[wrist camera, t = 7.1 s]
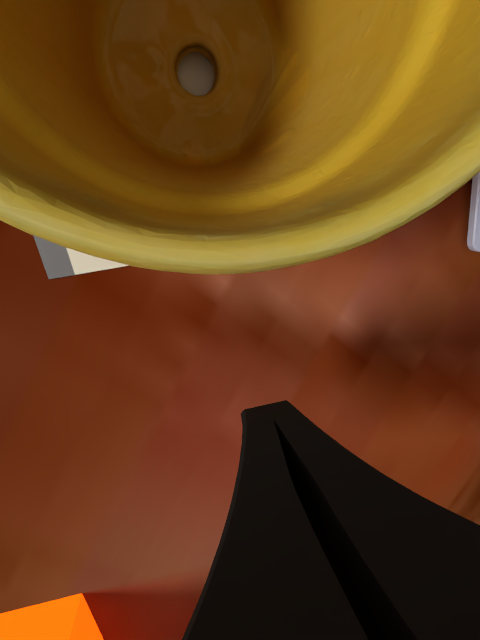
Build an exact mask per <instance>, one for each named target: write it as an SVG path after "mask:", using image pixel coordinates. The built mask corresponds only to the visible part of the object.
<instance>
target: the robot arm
mask: <svg viewBox="0 0 480 640" xmlns="http://www.w3.org/2000/svg"><path fill="white" fill-rule="evenodd" d="M467 246H468V248H469V249H470V250H472V251H477V252H480V172H479V173H478V174H476V175H475V176H474V177H473V180H472V191H471V202H470V214H469V225H468V236H467ZM241 418H242V425H243V433H242V446H241V454H240V462H239V468H238V473H237V478H236V483H235V488H234V492H233V497H232V501H231V505H230V509H229V513H228V516H227V520H226V523H225V527H224V530H223V533H222V537H221V540H220V543H219V546H218V549H217V552H216V555H215V557H214V560H213V563H212V566H211V569H210V572H209V575H208V577H207V580H206V583H205V585H204V588H203V591H202V593H201V596H200V598H199V601H198V603H197V605H196V608H195V610H194V613H193V615H192V617H191V620H190V622H189V624H188V627H187V629H186V632H185V634H184V636H183V639H182V640H480V525H478V524H476V523H474V522H472V521H470V520H468V519H466V518H464V517H461V516H459V515H457V514H455V513H453V512H451V511H449V510H447V509H445V508H443V507H441V506H439V505H437V504H435V503H433V502H431V501H430V500H428V499H426V498H424V497H422V496H420V495H418V494H417V493H415V492H413V491H411V490H410V489H408V488H406V487H404V486H403V485H401V484H399V483H397V482H396V481H394V480H392V479H391V478H389V477H387V476H386V475H384V474H382V473H381V472H379V471H378V470H376V469H375V468H373V467H372V466H370V465H369V464H367V463H366V462H364V461H363V460H361V459H360V458H358V457H357V456H356V455H354V454H353V453H351V452H350V451H349V450H347V449H346V448H344V447H343V446H342V445H340V444H339V443H338V442H336V441H335V440H334V439H333V438H331V437H330V436H329V435H327V434H326V433H325V432H323V431H322V430H321V429H320V428H318V427H317V426H316V425H315V424H314V423H312V422H311V421H310V420H309V419H308V418H307V417H305V416H304V415H303V414H302V413H301V412H300V411H299V410H297V409H296V408H295V407H294V406H293V405H292V404H291V403H289V402H288V401H286V400H285V401H281V402H276V403H272V404H267V405H263V406H258V407H254V408H249V409H245V410H244V411H243V412H242V413H241Z"/></svg>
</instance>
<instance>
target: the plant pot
mask: <svg viewBox="0 0 480 640" xmlns="http://www.w3.org/2000/svg"><path fill="white" fill-rule="evenodd" d="M192 52H198V53H201V54H203V55H205V56H206V57H207V58H208V59H209V60H210V62H211V63H212V66H213V68H214V83H213V86H212V88H211V89H210V91H209V92H208V93H206V94H205V95H200V96H196V95H193V94H191V93H189V92H188V91H187V90H185V89H184V88H183V87H182V86H181V84H180V82H179V79H178V74H177V73H178V66H179V64H180V62H181V60H182V59H183V58H184V56H186V55H187V54H189V53H192ZM479 172H480V0H0V220H1V221H3V222H5V223H7V224H10V225H12V226H14V227H16V228H18V229H20V230H22V231H24V232H27V233H29V234H32V235H34V236H37V237H40V238H42V239H45V240H47V241H50V242H53V243H55V244H58V245H60V246H63V247H66V248H69V249H72V250H75V251H78V252H82V253H85V254H88V255H91V256H94V257H98V258H102V259H106V260H110V261H114V262H118V263H122V264H126V265H130V266H135V267H141V268H147V269H153V270H160V271H170V272H181V273H193V274H238V273H251V272H262V271H268V270H274V269H279V268H285V267H291V266H296V265H300V264H304V263H308V262H311V261H315V260H319V259H323V258H327V257H331V256H333V255H336V254H339V253H342V252H345V251H348V250H350V249H353V248H355V247H358V246H361V245H363V244H366V243H368V242H371V241H374V240H376V239H378V238H380V237H381V236H383V235H385V234H387V233H389V232H391V231H393V230H395V229H397V228H399V227H401V226H403V225H404V224H406V223H408V222H410V221H411V220H413V219H415V218H416V217H418V216H420V215H421V214H423V213H425V212H426V211H428V210H430V209H431V208H433V207H435V206H436V205H438V204H439V203H440V202H442V201H443V200H444V199H446V198H447V197H448V196H450V195H451V194H452V193H454V192H455V191H457V190H458V189H459V188H461V187H462V186H463V185H464V184H466V183H467V182H468V181H469V180H470V179H472V178H473V177H474V176H475V175H476V174H478V173H479Z"/></svg>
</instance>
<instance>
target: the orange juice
mask: <svg viewBox="0 0 480 640" xmlns="http://www.w3.org/2000/svg"><path fill="white" fill-rule="evenodd" d="M0 640H104V639H103V637H102V635H101V633H100V631H99V629H98V626H97V624H96V622H95V620H94V618H93V616H92V613H91V611H90V609H89V607H88V605H87V603H86V601H85V598H84V596H83V594H82V593H81V594H77V595H73V596H69V597H65V598H61V599H57V600H53V601H49V602H45V603H41V604H37V605H33V606H29V607H25V608H21V609H17V610H13V611H9V612H5V613H1V614H0Z"/></svg>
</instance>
